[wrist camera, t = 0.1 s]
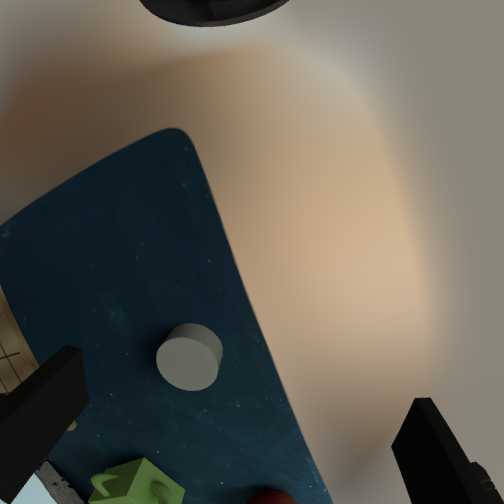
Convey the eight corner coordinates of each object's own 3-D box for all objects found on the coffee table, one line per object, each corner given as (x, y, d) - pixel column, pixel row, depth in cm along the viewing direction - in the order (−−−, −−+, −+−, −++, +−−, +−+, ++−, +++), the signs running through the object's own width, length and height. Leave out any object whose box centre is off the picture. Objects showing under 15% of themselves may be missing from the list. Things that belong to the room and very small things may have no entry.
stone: (99, 467, 45) (43, 443, 47) (75, 486, 36) (17, 456, 38) (110, 520, 43) (55, 495, 45) (91, 540, 35) (34, 510, 37)
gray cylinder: (156, 331, 34) (145, 346, 30) (208, 315, 33) (201, 330, 29) (181, 378, 35) (173, 395, 31) (232, 365, 34) (227, 383, 30)
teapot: (111, 484, 42) (90, 525, 31) (95, 437, 39) (65, 482, 28) (194, 505, 41) (181, 553, 30) (190, 461, 38) (173, 517, 28)
